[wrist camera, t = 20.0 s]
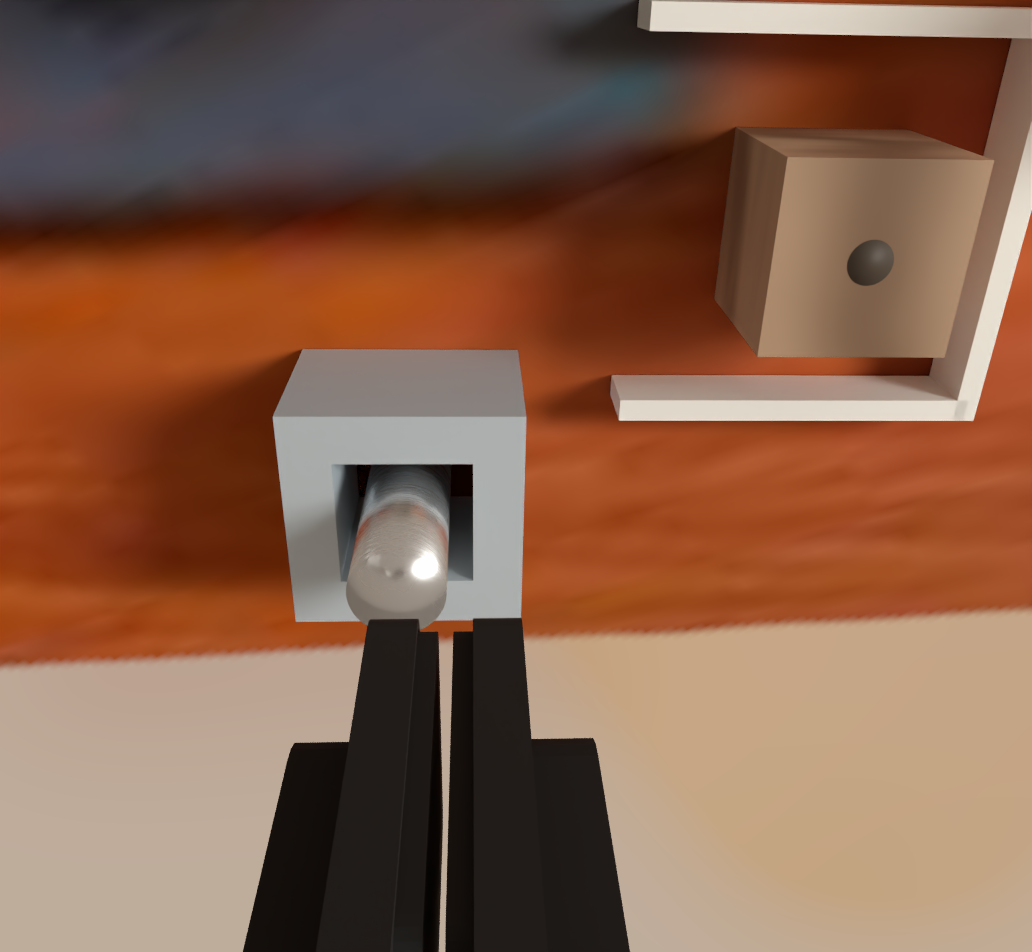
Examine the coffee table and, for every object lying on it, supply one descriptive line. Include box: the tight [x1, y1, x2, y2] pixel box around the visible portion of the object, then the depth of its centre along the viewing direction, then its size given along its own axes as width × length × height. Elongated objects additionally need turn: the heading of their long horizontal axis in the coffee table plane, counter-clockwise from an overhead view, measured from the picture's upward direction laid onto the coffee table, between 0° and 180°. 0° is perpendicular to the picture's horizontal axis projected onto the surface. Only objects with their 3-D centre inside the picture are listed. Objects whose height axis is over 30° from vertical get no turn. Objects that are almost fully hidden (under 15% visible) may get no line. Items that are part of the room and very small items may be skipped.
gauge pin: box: [346, 464, 452, 629], centre depth 32 cm, size 3×3×10 cm
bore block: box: [273, 349, 526, 622], centre depth 34 cm, size 8×8×6 cm
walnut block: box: [714, 127, 994, 358], centre depth 31 cm, size 6×6×6 cm
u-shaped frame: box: [610, 0, 1032, 421], centre depth 32 cm, size 13×14×2 cm
